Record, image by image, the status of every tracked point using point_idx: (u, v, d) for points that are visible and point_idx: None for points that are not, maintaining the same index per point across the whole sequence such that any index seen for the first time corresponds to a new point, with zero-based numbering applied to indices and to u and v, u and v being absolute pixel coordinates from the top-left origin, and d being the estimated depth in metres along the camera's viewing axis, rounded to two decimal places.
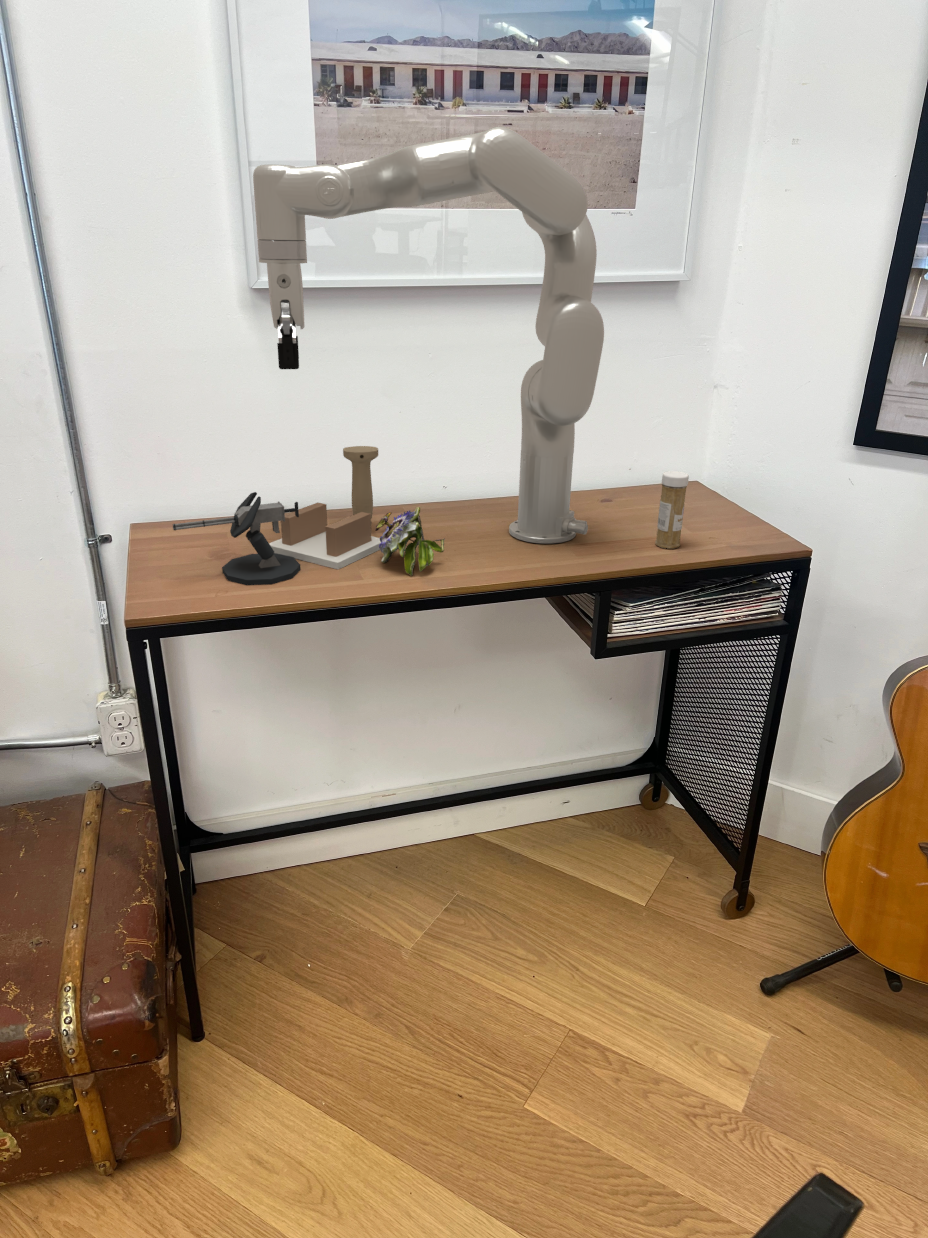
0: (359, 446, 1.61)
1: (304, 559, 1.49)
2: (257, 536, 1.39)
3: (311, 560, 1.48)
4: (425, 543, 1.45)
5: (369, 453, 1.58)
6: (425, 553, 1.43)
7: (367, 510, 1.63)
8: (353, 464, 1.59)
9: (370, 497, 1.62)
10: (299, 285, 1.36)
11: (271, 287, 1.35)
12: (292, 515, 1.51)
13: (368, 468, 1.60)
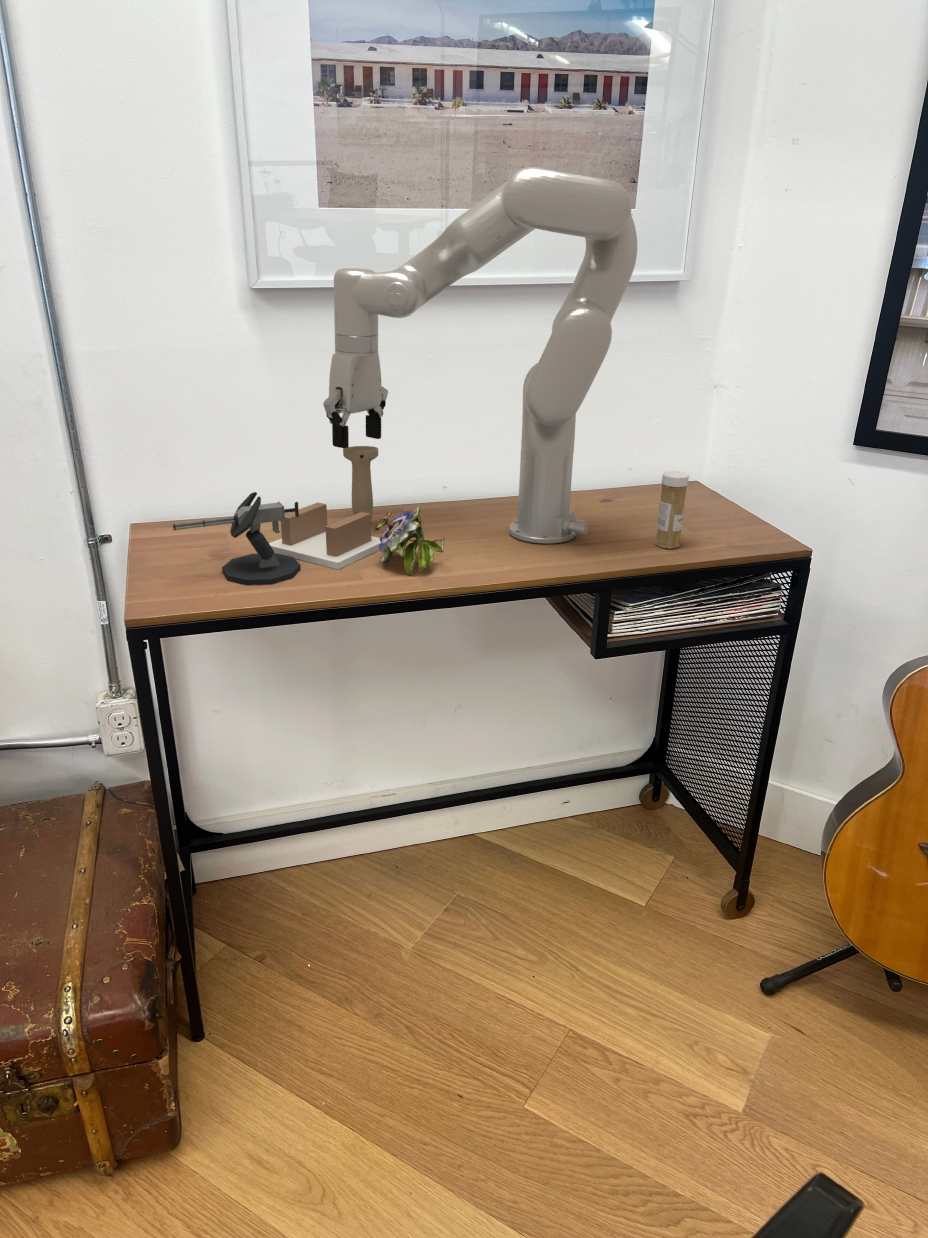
0: (359, 446, 1.61)
1: (304, 559, 1.49)
2: (257, 536, 1.39)
3: (311, 560, 1.48)
4: (425, 543, 1.45)
5: (369, 453, 1.58)
6: (425, 553, 1.43)
7: (367, 510, 1.63)
8: (353, 464, 1.59)
9: (370, 497, 1.62)
10: None
11: (380, 372, 1.56)
12: (292, 515, 1.51)
13: (368, 468, 1.60)
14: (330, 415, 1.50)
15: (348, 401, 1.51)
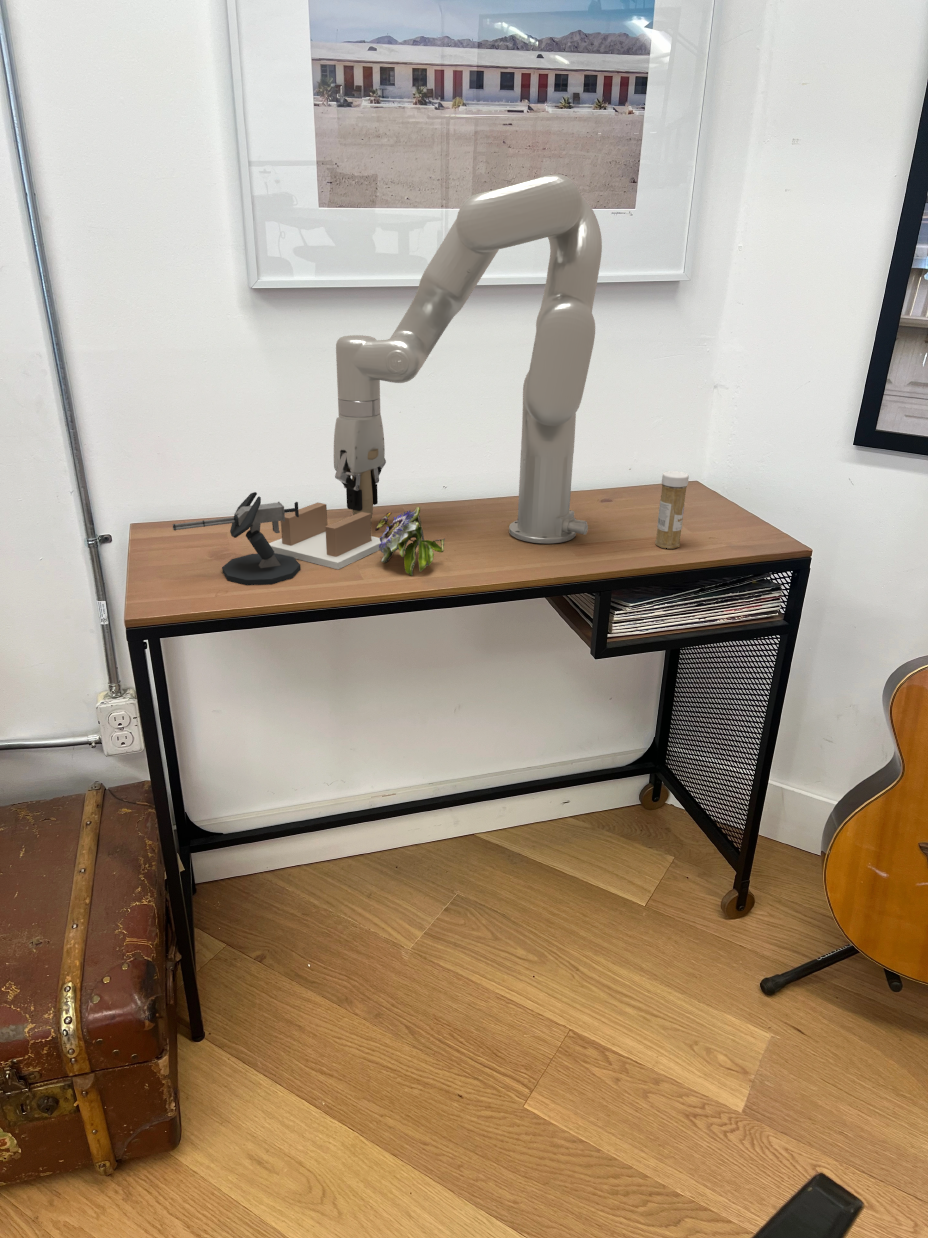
0: None
1: (304, 559, 1.49)
2: (257, 536, 1.39)
3: (311, 560, 1.48)
4: (425, 543, 1.45)
5: (369, 453, 1.58)
6: (425, 553, 1.43)
7: (367, 510, 1.63)
8: None
9: (370, 497, 1.62)
10: None
11: None
12: (292, 515, 1.51)
13: None
14: (345, 482, 1.57)
15: (352, 463, 1.55)
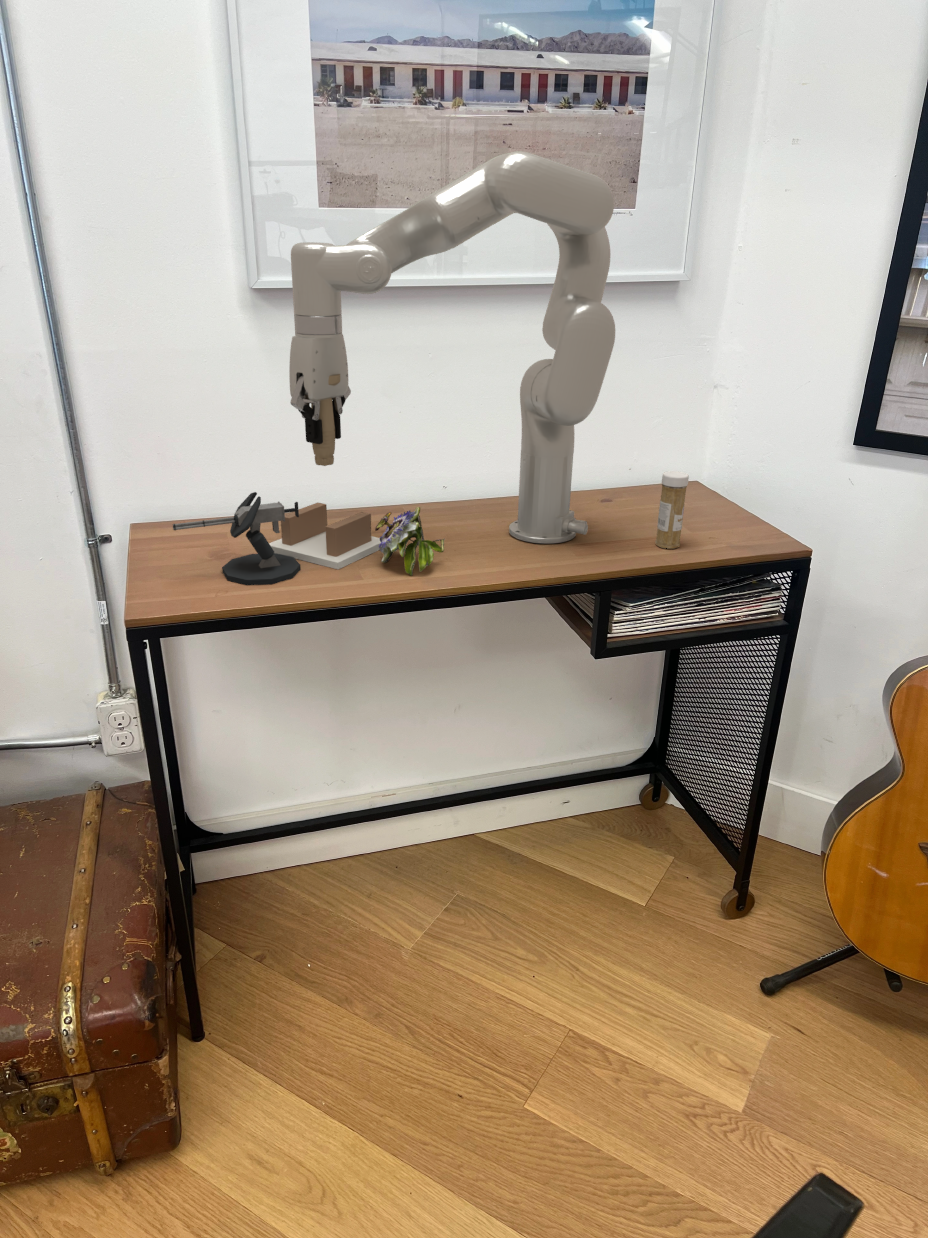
0: None
1: (304, 559, 1.49)
2: (257, 536, 1.39)
3: (311, 560, 1.48)
4: (425, 543, 1.45)
5: (329, 377, 1.41)
6: (425, 553, 1.43)
7: (329, 443, 1.46)
8: None
9: (331, 429, 1.45)
10: None
11: (346, 356, 1.44)
12: (292, 515, 1.51)
13: None
14: (302, 410, 1.41)
15: (310, 388, 1.39)
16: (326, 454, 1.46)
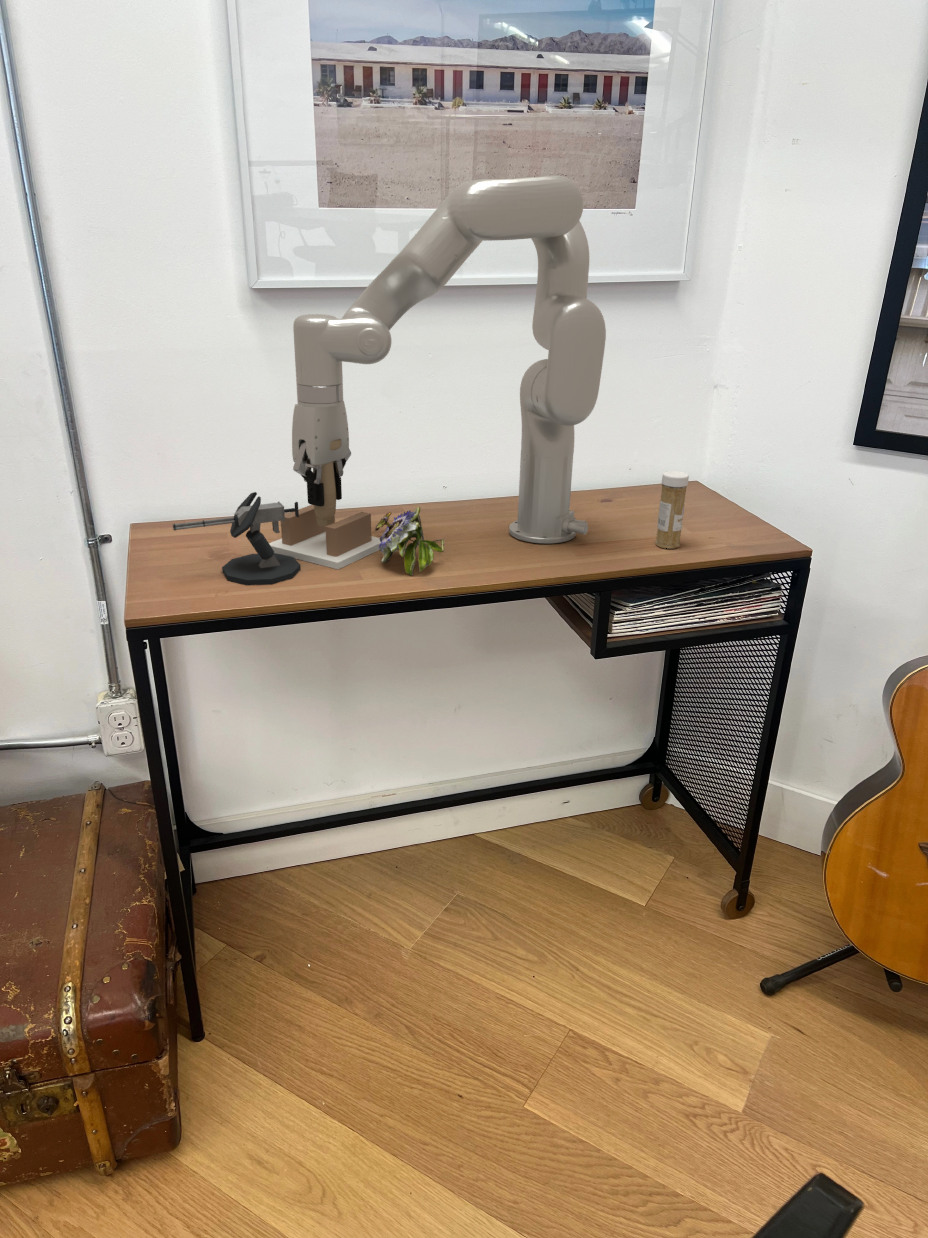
0: None
1: (304, 559, 1.49)
2: (257, 536, 1.39)
3: (311, 560, 1.48)
4: (425, 543, 1.45)
5: (331, 443, 1.45)
6: (425, 553, 1.43)
7: (330, 505, 1.50)
8: None
9: (333, 491, 1.49)
10: None
11: (347, 421, 1.48)
12: (292, 515, 1.51)
13: None
14: (304, 475, 1.45)
15: (312, 454, 1.42)
16: (327, 515, 1.50)
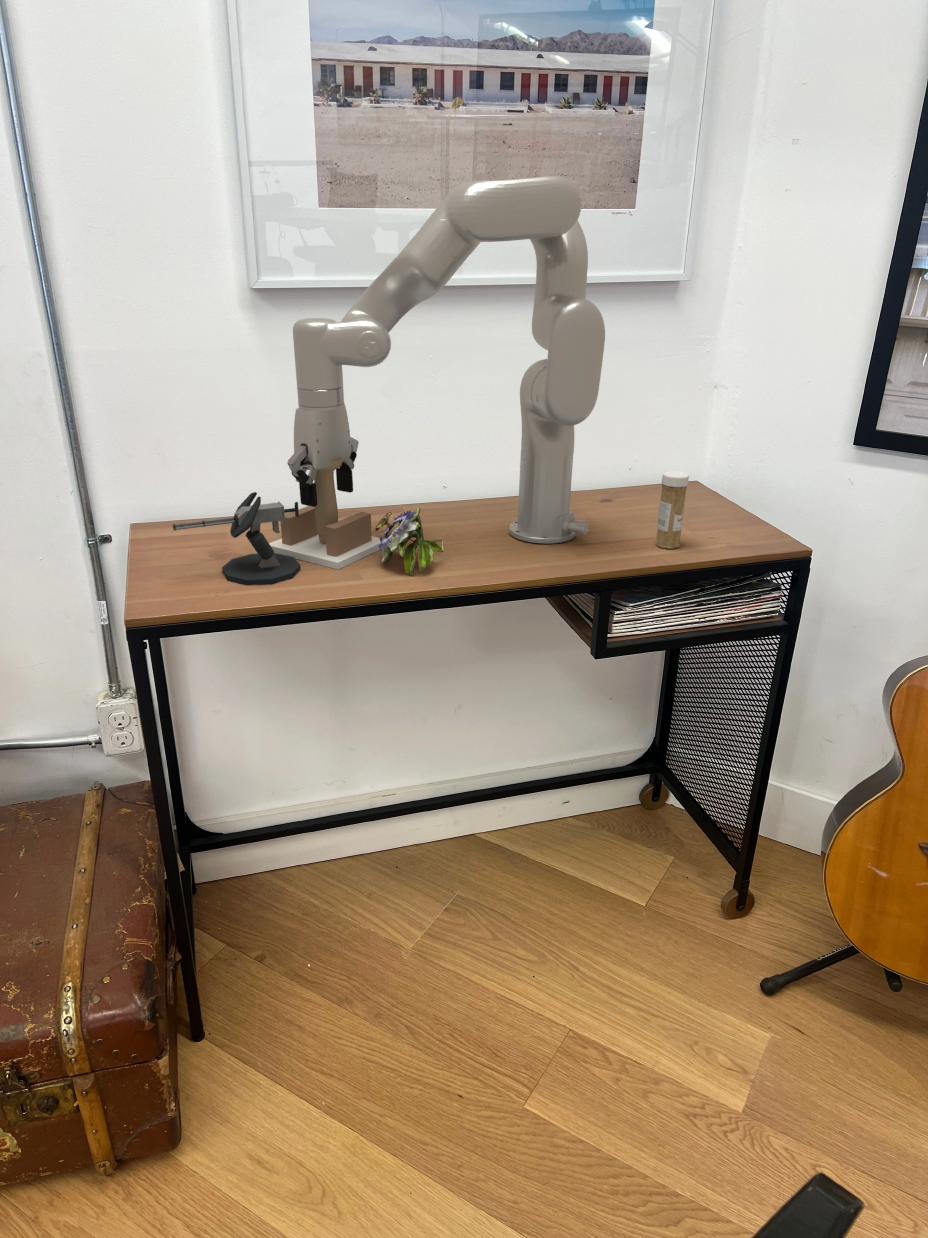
0: None
1: (304, 559, 1.49)
2: (257, 536, 1.39)
3: (311, 560, 1.48)
4: (425, 543, 1.45)
5: (331, 462, 1.46)
6: (425, 553, 1.43)
7: (332, 523, 1.51)
8: None
9: (334, 509, 1.51)
10: None
11: (348, 423, 1.48)
12: (292, 515, 1.51)
13: (331, 478, 1.49)
14: (295, 474, 1.42)
15: (314, 458, 1.43)
16: None
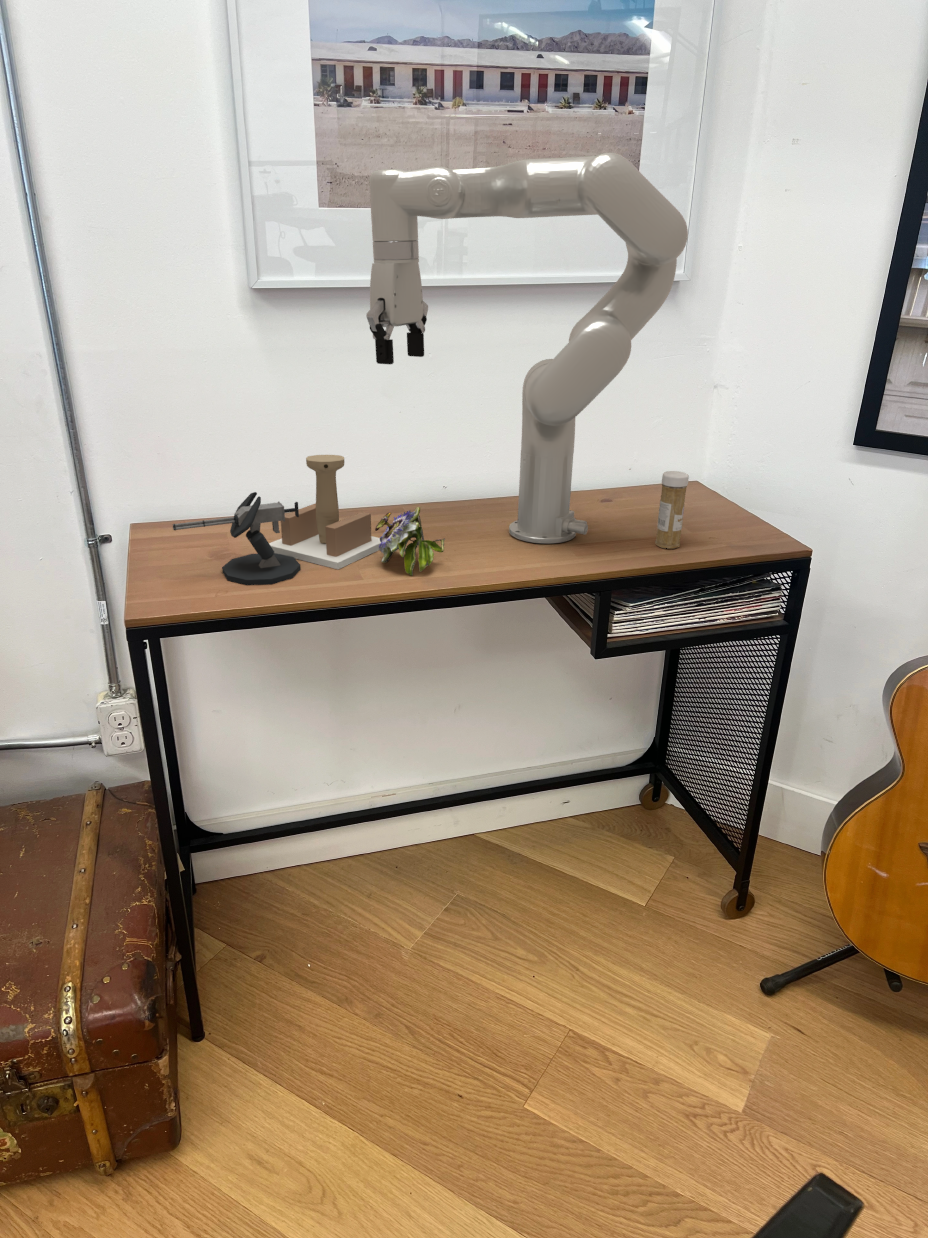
0: (324, 455, 1.50)
1: (304, 559, 1.49)
2: (257, 536, 1.39)
3: (311, 560, 1.48)
4: (425, 543, 1.45)
5: (334, 463, 1.46)
6: (425, 553, 1.43)
7: None
8: (317, 474, 1.48)
9: (335, 510, 1.51)
10: None
11: None
12: (292, 515, 1.51)
13: (333, 479, 1.49)
14: (374, 328, 1.43)
15: (392, 312, 1.43)
16: None
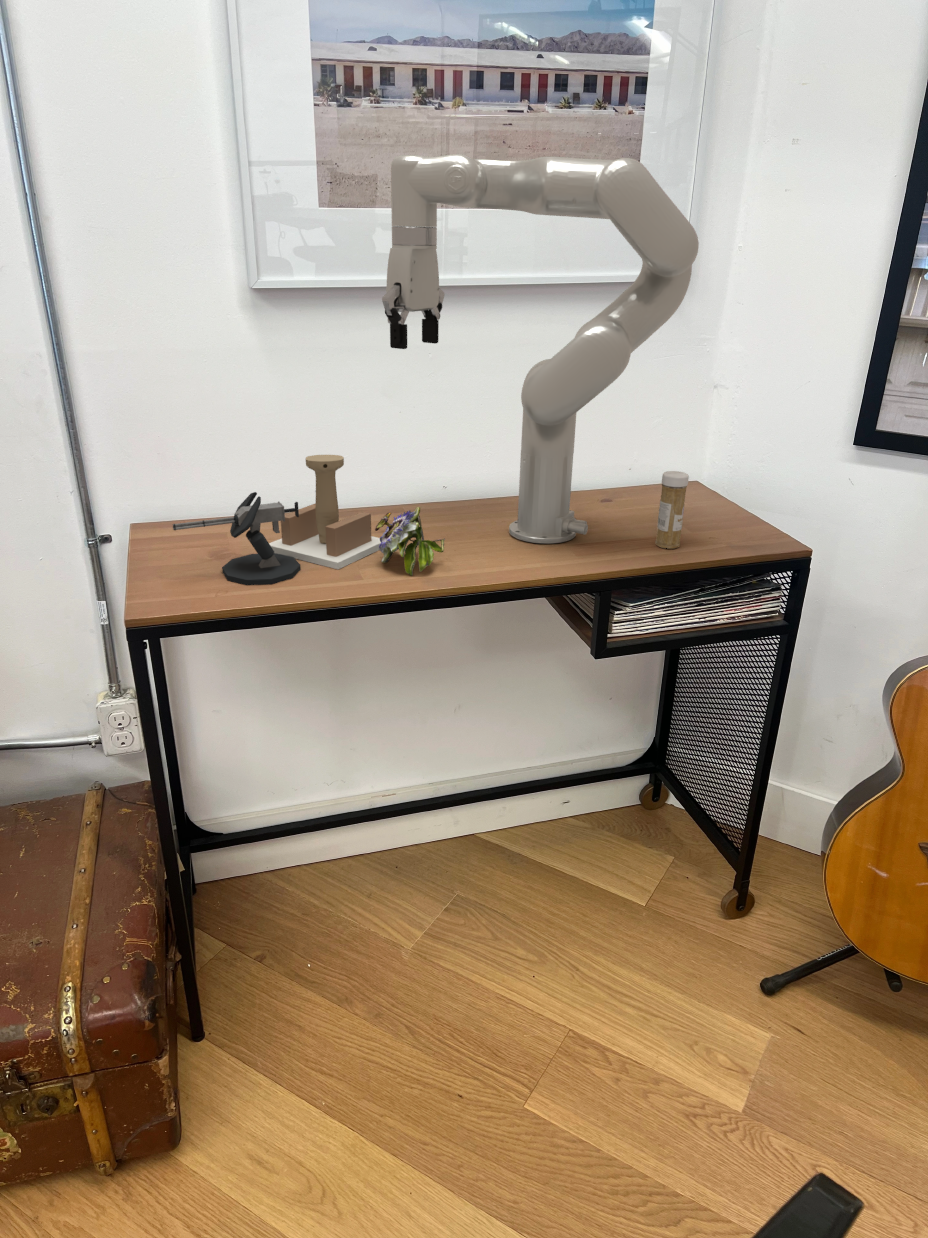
0: (323, 455, 1.50)
1: (304, 559, 1.49)
2: (257, 536, 1.39)
3: (311, 560, 1.48)
4: (425, 543, 1.45)
5: (333, 462, 1.46)
6: (425, 553, 1.43)
7: (332, 523, 1.51)
8: (316, 474, 1.48)
9: (335, 509, 1.51)
10: None
11: None
12: (292, 515, 1.51)
13: (333, 478, 1.49)
14: (389, 312, 1.44)
15: (407, 297, 1.45)
16: None
